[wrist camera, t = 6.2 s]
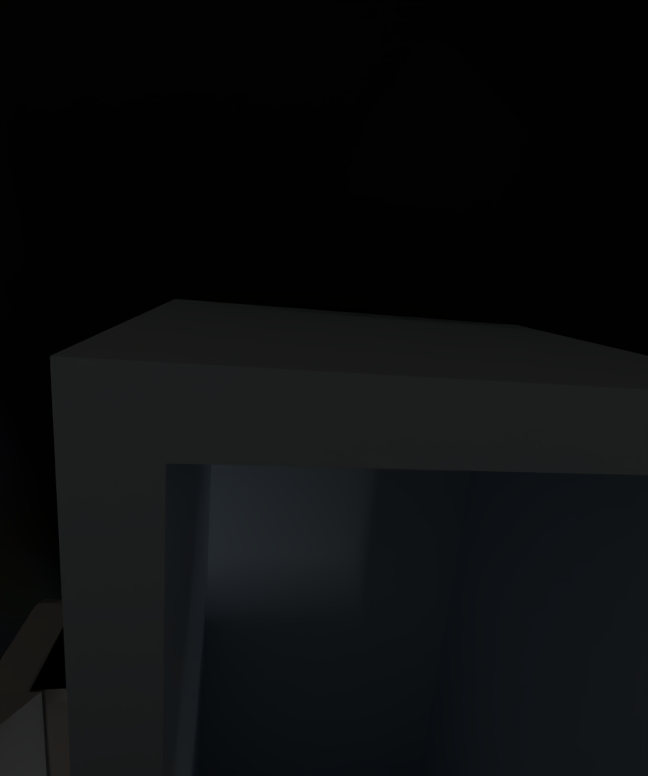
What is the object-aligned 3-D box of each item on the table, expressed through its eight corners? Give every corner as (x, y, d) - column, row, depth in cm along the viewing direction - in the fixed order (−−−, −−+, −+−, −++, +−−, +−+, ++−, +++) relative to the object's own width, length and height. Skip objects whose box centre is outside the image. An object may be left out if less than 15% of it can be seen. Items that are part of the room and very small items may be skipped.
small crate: (437, 756, 11) (577, 1131, 6) (168, 777, 10) (93, 1235, 5) (517, 325, 9) (837, 400, 4) (175, 298, 8) (49, 357, 3)
